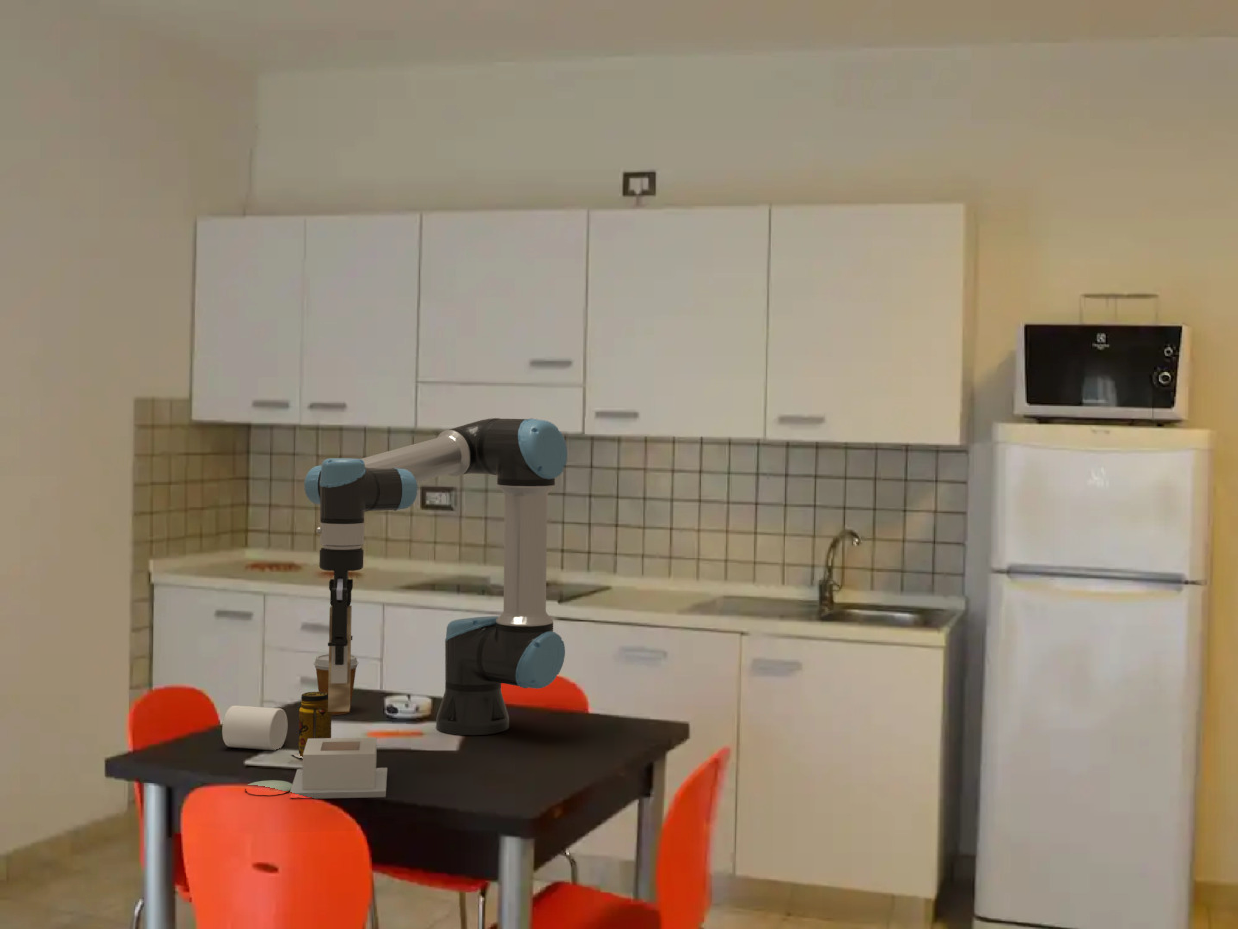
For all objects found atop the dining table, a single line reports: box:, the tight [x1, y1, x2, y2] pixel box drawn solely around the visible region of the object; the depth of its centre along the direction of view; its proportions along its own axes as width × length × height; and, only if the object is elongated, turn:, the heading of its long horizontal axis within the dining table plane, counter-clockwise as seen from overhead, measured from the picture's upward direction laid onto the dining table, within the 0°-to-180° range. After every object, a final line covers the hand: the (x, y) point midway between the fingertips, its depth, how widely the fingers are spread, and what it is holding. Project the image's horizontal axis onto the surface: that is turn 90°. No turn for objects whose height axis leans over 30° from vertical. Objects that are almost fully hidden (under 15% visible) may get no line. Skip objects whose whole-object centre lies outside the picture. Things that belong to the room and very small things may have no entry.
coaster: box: [247, 779, 293, 791], centre depth 243 cm, size 8×8×1 cm
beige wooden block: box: [328, 605, 353, 712], centre depth 246 cm, size 4×4×18 cm
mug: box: [221, 705, 289, 751], centre depth 275 cm, size 12×10×8 cm
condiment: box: [298, 691, 332, 757], centre depth 268 cm, size 7×8×12 cm
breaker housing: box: [289, 737, 388, 799], centre depth 247 cm, size 16×16×7 cm
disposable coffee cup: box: [313, 653, 359, 716], centre depth 306 cm, size 10×10×12 cm
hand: (339, 680), depth 246 cm, fingers closed on beige wooden block, 4 cm apart
